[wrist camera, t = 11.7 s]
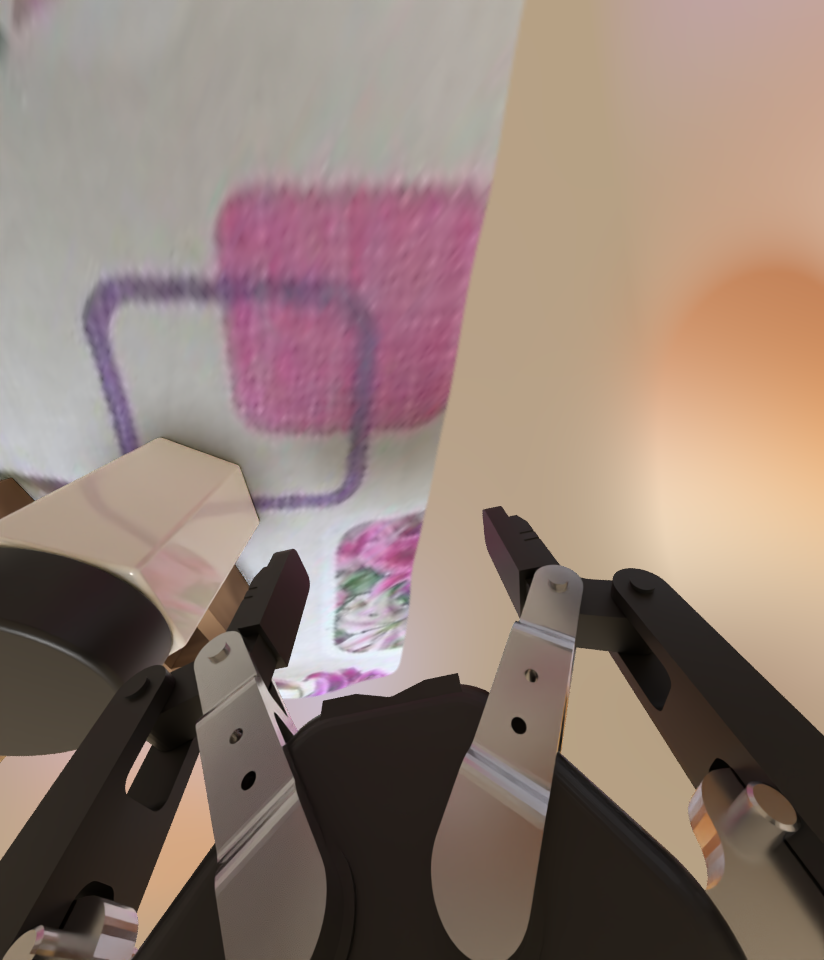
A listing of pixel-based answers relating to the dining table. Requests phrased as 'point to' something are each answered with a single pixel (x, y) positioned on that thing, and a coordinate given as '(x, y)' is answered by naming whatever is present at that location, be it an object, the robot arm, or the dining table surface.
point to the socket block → (212, 620)
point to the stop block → (12, 497)
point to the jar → (109, 584)
